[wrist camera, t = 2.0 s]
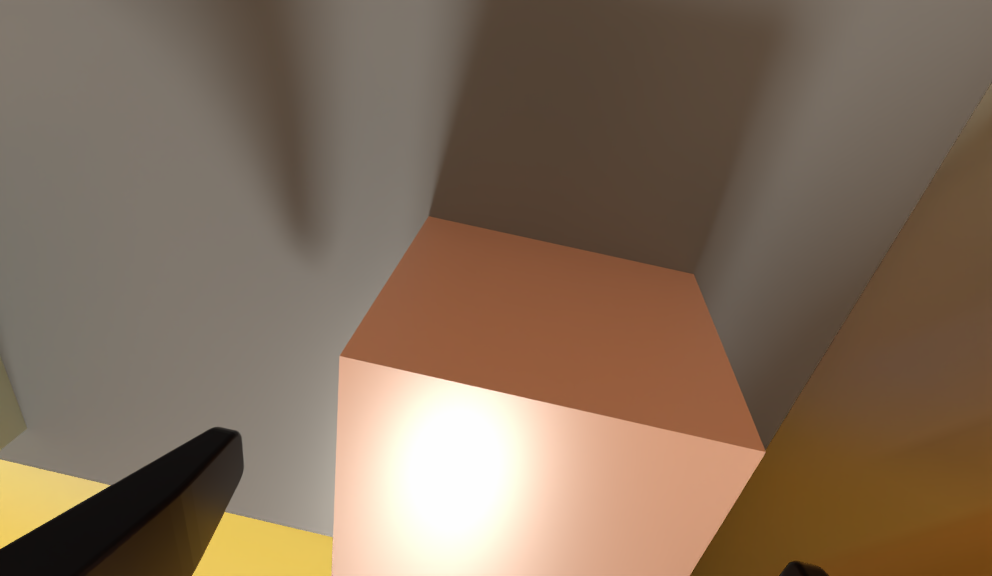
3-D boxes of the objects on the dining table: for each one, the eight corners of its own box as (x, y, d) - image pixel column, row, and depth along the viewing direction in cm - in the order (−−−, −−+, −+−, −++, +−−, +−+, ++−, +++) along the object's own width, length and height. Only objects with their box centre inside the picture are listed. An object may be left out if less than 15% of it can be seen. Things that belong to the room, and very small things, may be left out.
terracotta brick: (428, 216, 9) (339, 355, 6) (693, 273, 9) (766, 451, 6) (395, 486, 13) (328, 673, 9) (586, 530, 13) (590, 736, 9)
